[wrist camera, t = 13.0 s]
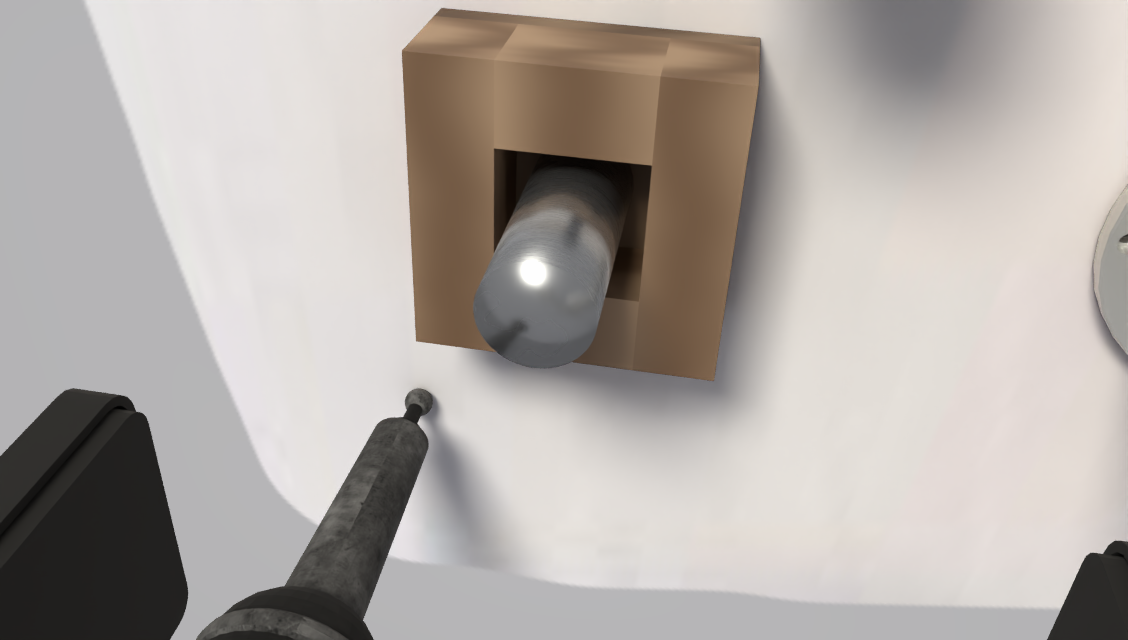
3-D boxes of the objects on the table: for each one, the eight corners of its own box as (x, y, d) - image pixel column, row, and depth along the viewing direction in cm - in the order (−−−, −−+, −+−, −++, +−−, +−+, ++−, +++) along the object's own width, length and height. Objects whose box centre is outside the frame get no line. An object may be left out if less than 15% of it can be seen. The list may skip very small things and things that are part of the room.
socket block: (760, 37, 37) (758, 86, 33) (719, 312, 44) (713, 381, 40) (441, 8, 39) (401, 50, 35) (448, 278, 45) (416, 341, 41)
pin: (637, 139, 39) (600, 269, 31) (629, 231, 41) (593, 375, 33) (534, 129, 40) (472, 254, 31) (532, 220, 42) (473, 359, 34)
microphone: (491, 344, 47) (338, 719, 31) (492, 457, 51) (357, 845, 34) (348, 326, 48) (124, 682, 31) (359, 439, 52) (165, 809, 35)
